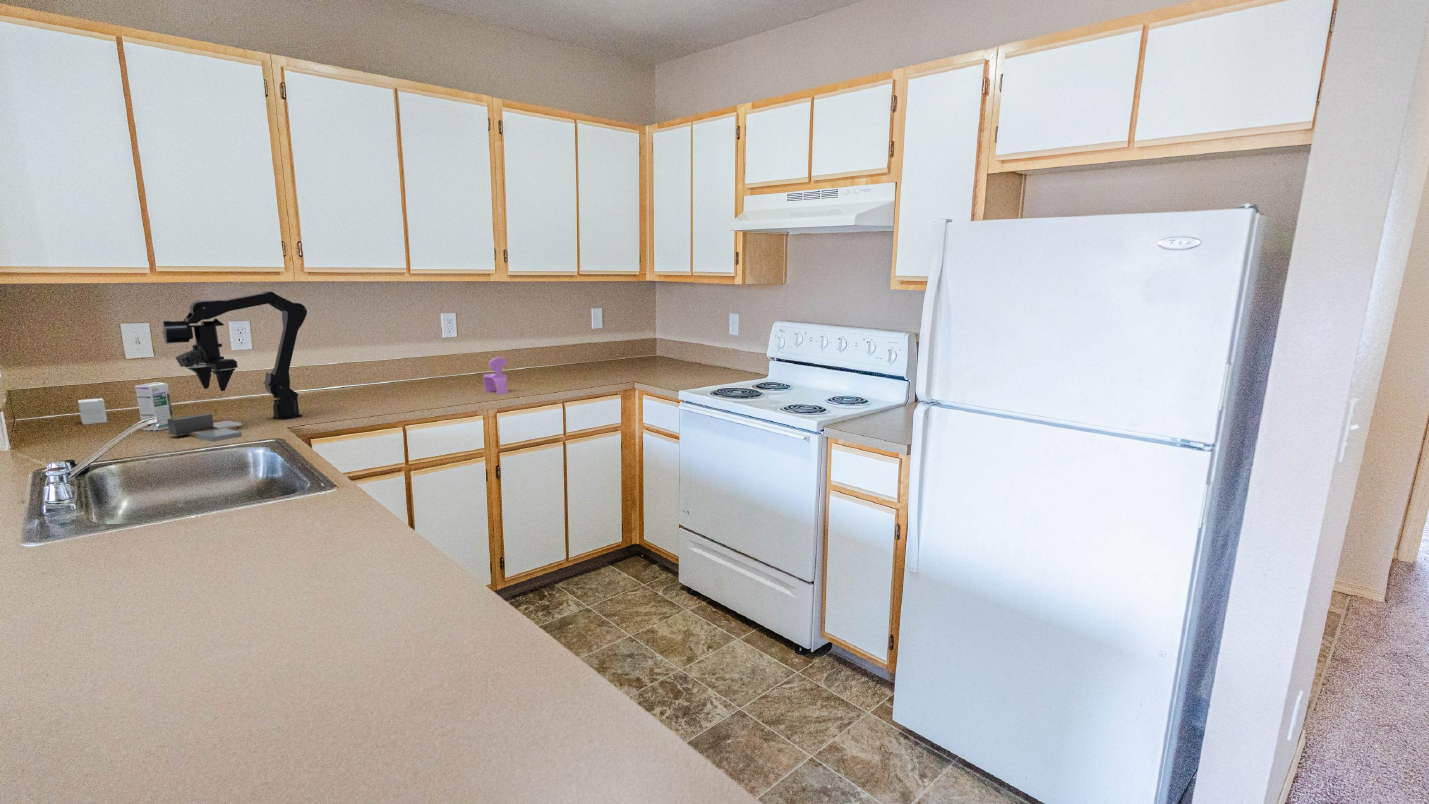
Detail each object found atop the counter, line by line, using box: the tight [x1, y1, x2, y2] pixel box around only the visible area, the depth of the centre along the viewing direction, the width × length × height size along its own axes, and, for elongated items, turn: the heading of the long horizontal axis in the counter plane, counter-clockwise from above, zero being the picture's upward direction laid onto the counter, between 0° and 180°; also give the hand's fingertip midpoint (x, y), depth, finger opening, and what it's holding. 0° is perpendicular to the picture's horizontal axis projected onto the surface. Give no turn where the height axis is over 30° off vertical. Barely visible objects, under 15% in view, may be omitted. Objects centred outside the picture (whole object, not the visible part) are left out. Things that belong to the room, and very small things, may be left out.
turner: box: [167, 412, 243, 436], centre depth 207 cm, size 17×8×4 cm, turn 153°
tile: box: [195, 429, 243, 442], centre depth 201 cm, size 2×9×8 cm
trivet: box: [184, 426, 238, 438], centre depth 208 cm, size 11×11×1 cm
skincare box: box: [77, 397, 108, 425], centre depth 220 cm, size 6×6×7 cm
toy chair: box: [482, 356, 510, 395], centre depth 279 cm, size 8×9×15 cm
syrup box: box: [134, 381, 174, 432], centre depth 210 cm, size 6×6×14 cm
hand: (214, 389), depth 214 cm, fingers open, 9 cm apart
